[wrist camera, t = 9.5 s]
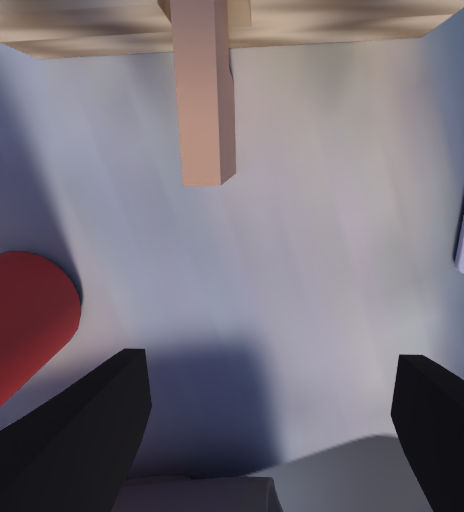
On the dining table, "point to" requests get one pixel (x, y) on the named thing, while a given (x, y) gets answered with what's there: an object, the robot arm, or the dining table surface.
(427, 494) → the robot arm
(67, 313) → the beer can
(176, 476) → the bluetooth speaker
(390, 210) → the dining table surface
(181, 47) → the tan thin board
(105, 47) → the slotted rail
